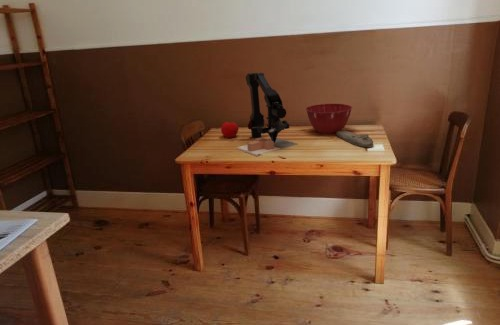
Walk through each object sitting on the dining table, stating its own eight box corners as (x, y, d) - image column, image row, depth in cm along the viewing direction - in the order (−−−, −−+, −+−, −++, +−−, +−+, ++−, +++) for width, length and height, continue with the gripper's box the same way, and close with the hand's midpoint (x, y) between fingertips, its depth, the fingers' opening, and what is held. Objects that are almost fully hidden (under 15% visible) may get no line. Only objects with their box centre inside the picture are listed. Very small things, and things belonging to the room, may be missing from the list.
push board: (236, 148, 219) (236, 147, 219) (277, 139, 234) (277, 137, 234) (256, 156, 203) (256, 154, 203) (298, 145, 218) (298, 144, 218)
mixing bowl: (339, 139, 227) (340, 113, 222) (297, 134, 244) (297, 110, 239) (358, 128, 248) (359, 104, 243) (318, 125, 265) (318, 102, 260)
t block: (243, 148, 216) (243, 141, 214) (261, 144, 222) (260, 137, 221) (256, 152, 206) (255, 145, 205) (273, 148, 212) (273, 141, 211)
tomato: (218, 139, 243) (217, 123, 240) (225, 134, 255) (224, 119, 252) (235, 139, 240) (234, 123, 237) (241, 134, 251) (240, 119, 248)
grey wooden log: (346, 135, 240) (331, 138, 238) (345, 127, 238) (331, 130, 236) (378, 146, 207) (362, 149, 205) (378, 136, 206) (361, 140, 203)
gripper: (267, 120, 203) (268, 148, 208) (295, 114, 213) (295, 142, 218) (255, 117, 212) (257, 144, 217) (282, 112, 222) (283, 138, 227)
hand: (274, 142), depth 219 cm, fingers closed
